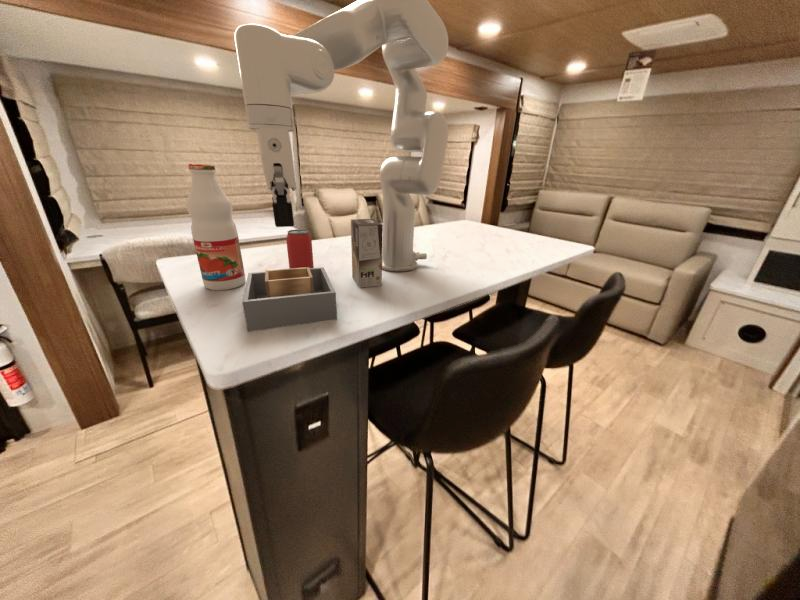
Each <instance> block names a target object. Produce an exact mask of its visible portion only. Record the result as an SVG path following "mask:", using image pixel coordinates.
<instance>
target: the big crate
mask: <svg viewBox="0 0 800 600" xmlns="http://www.w3.org/2000/svg"><path fill="white" fill-rule="evenodd" d="M309 269H310V271H311V274H312V277H313V286H314V293H310V294H300V295H290V296H280V297H270V298H267V291H266V285H265V271H257V272H254V271H253V272H248V273H247V278H246V281H245V287H244V293H243V298H242V307H243V312H244V318H245V322H246V323H245V324H246V329H247V332H253V331H260V330H262V331H263V330H268V329H275V328H276V329H277V328H284V327H291V326H298V325H306V324H307V325H308V324H313V323H314V324H315V323H320V322H321V323H322V322H329V321H335V320H338V315H337V314H338V311H337V293H336V290H335V288H334V286H333V284H332V281H331V280H330V277H329V276H328V273H327V272H326V269H325V268H324V267H314V268H309Z"/></svg>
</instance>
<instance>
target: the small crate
mask: <svg viewBox="0 0 800 600" xmlns="http://www.w3.org/2000/svg"><path fill="white" fill-rule="evenodd" d="M264 272H265V285H266V291H267V298H270V297H280V296H290V295H300V294H310V293H314V286H313V277H312V274H311V271H310V269H309V267H305V268H291V269H289V268H281V269H268V270H266V269H265V270H264Z"/></svg>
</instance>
